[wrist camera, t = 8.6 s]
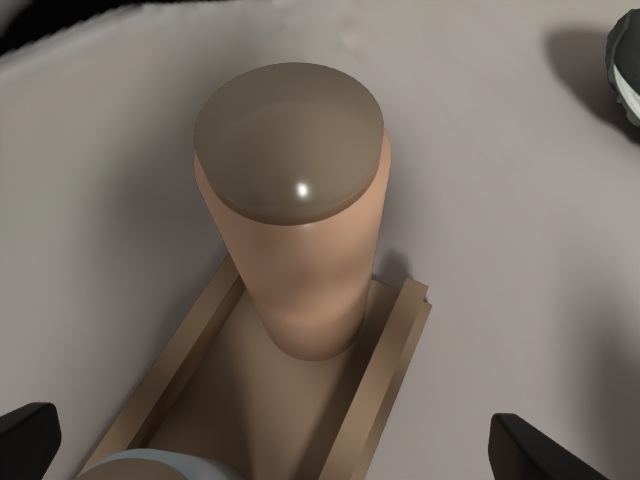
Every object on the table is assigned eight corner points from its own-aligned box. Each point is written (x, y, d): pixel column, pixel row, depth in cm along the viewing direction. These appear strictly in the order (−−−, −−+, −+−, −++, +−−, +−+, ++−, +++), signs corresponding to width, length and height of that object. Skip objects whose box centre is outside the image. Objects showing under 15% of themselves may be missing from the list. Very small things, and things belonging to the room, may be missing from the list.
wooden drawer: (212, 862, 14) (167, 1002, 10) (-24, 651, 17) (-127, 700, 13) (430, 308, 24) (448, 276, 20) (254, 232, 27) (240, 191, 23)
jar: (313, 384, 21) (283, 258, 9) (242, 311, 23) (140, 129, 11) (385, 308, 23) (439, 120, 11) (313, 247, 25) (292, 31, 13)
